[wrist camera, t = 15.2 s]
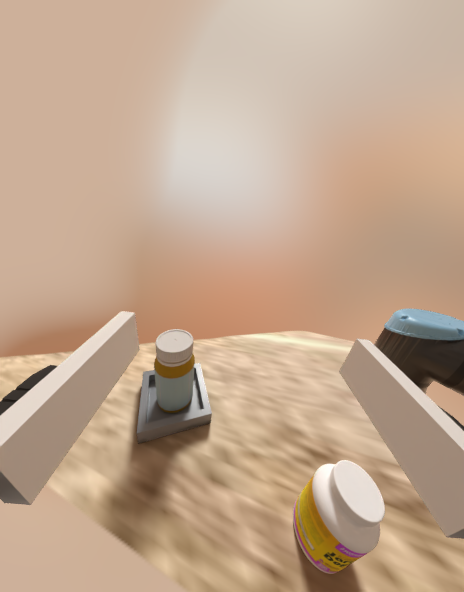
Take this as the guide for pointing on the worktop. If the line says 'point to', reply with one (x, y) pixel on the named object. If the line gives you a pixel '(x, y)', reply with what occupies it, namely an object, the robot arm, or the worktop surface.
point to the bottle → (174, 370)
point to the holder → (163, 423)
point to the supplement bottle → (338, 516)
